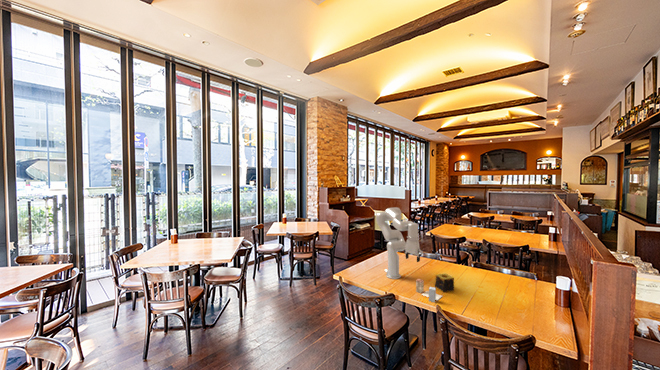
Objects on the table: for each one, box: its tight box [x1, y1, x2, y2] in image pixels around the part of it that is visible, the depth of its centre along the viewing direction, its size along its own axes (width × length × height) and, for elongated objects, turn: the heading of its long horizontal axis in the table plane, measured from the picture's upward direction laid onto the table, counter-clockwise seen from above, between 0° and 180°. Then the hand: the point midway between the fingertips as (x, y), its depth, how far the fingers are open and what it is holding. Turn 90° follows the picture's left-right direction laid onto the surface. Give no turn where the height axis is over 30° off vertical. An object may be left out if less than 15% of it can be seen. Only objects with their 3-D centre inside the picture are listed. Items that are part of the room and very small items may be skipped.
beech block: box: [415, 278, 425, 294], centre depth 199 cm, size 4×4×9 cm
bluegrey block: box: [428, 286, 437, 303], centre depth 185 cm, size 4×4×9 cm
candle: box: [434, 273, 455, 293], centre depth 204 cm, size 10×10×10 cm
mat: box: [420, 290, 443, 301], centre depth 192 cm, size 12×9×1 cm
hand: (412, 260), depth 204 cm, fingers open, 9 cm apart
